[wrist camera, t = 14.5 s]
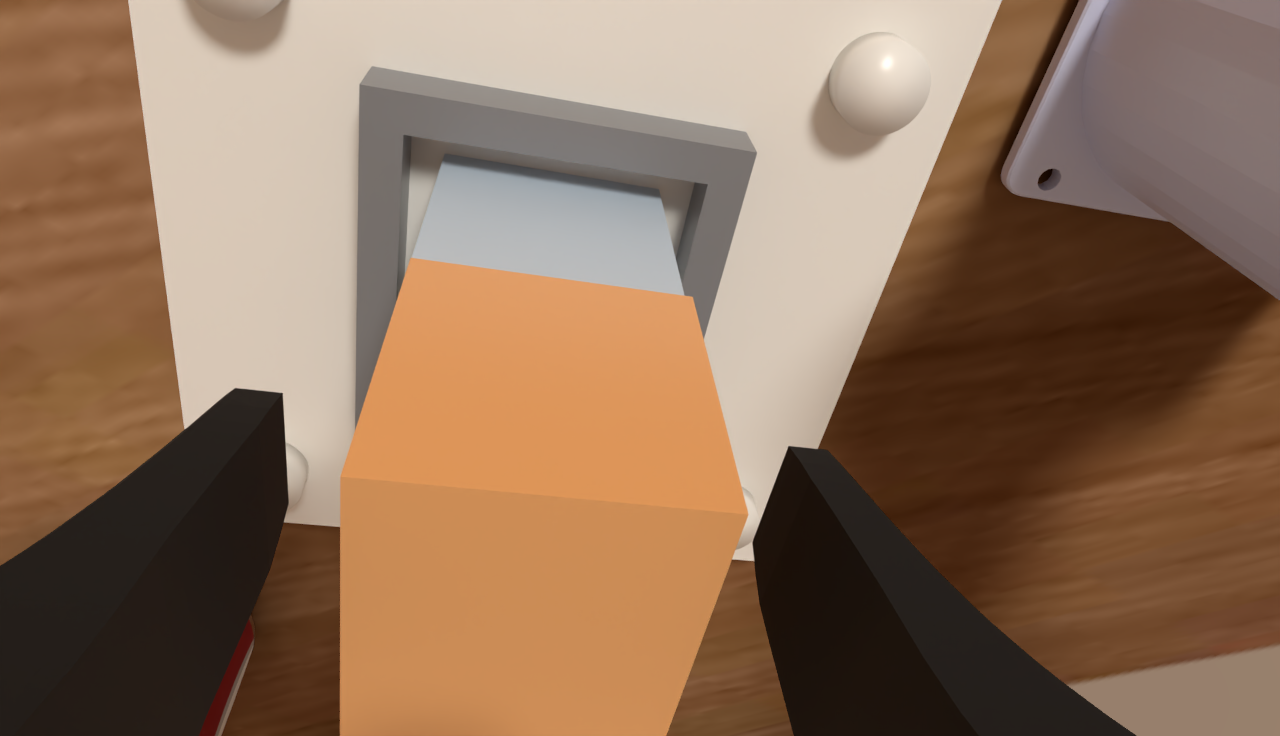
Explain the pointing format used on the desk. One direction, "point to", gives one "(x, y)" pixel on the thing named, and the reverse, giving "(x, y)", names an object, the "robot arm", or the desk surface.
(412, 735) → the orange brick
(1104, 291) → the desk surface
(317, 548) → the desk surface
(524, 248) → the light grey block
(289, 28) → the baseplate
